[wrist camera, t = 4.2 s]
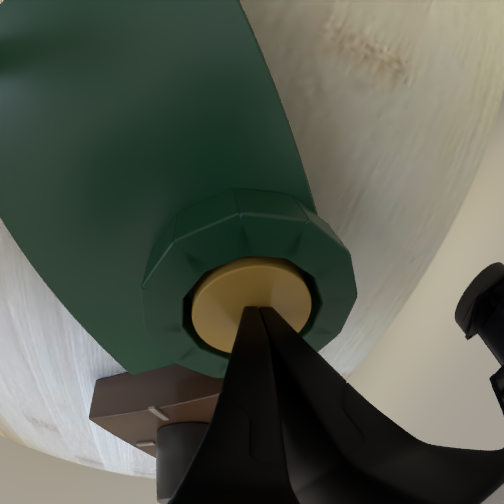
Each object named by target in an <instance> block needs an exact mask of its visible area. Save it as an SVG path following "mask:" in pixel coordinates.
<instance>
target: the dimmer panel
mask: <svg viewBox="0 0 504 504" xmlns="http://www.w3.org/2000/svg"><path fill="white" fill-rule="evenodd" d="M223 380H224V378H217V377H216V378H213V377H211V376H208V375H205V374H202V373H199V372H197V371H194V370H191V369H189V368H186V367H183V366H181V365H178V364H173V365H169V366H166V367H162V368H158V369H155V370H151V371H147V372H143V373H140V374H136V375H131V374H130V373H129V372H128V373H124V374H120V375H116V376H111V377H107V378H103V379H99V380H96V384H95V388H94V393H93V398H92V403H91V408H90V414H89V419H90V420H91V421H93V422H94V423H96V424H97V425H99V426H100V427H102V428H104V429H105V430H107V431H108V432H110V433H112V434H113V435H115V436H117V437H118V438H120V439H122V440H124V441H125V442H127V443H129V444H131V445H132V446H134V447H136V448H138V449H140V450H142V451H144V452H146V453H148V454H149V455H151V456H153V457H155V458H156V448H157V432H158V430H159V429H161V428H162V427H165V426H167V425H171V424H177V423H205V424H209V423H210V421H211V419H212V416H213V413H214V410H215V407H216V404H217V400H218V397H219V393H220V390H221V387H222V383H223Z"/></svg>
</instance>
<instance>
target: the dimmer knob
mask: <svg viewBox="0 0 504 504" xmlns="http://www.w3.org/2000/svg"><path fill="white" fill-rule="evenodd" d="M208 426H209V424H205V423H177V424H171V425H167V426H165V427H162V428H161V429H159V430H158V432H157V448H156V479H157V501H158V502H159V503H161V504H167V503H168V501H169V500H170V498H171V497H172V495H173V494H174V492H175V491H176V489H177V488H178V486H179V484H180V482H181V481H182V479H183V477H184V475H185V473H186V471H187V469H188V467H189V465H190V463H191V461H192V459H193V457H194V455H195V453H196V451H197V449H198V447H199V445H200V443H201V441H202V439H203V437H204V435H205V433H206V430H207V428H208Z"/></svg>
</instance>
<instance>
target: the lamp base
mask: <svg viewBox="0 0 504 504" xmlns="http://www.w3.org/2000/svg"><path fill="white" fill-rule="evenodd" d="M0 217H1V219H2V221H3V222H4V224H5V226H6V227H7V229H8V230H9V232H10V234H11V235H12V237H13V238H14V240H15V241H16V243H17V244H18V246H19V247H20V249H21V250H22V252H23V253H24V255H25V256H26V257H27V259H28V260H29V262H30V263H31V264H32V266H33V267H34V269H35V270H36V271H37V273H38V274H39V275H40V277H41V278H42V279H43V280H44V282H45V283H46V284H47V286H48V287H49V288H50V289H51V291H52V292H53V293H54V294H55V296H56V297H57V298H58V299H59V300H60V302H61V303H62V304H63V305H64V306H65V307H66V309H67V310H68V311H69V312H70V313H71V314H72V315H73V317H74V318H75V319H76V320H77V321H78V322H79V323H80V324H81V325H82V327H83V328H84V329H85V330H86V331H87V332H88V333H89V334H90V335H91V336H92V337H93V338H94V339H95V340H96V341H97V342H98V343H99V344H100V345H101V346H102V347H103V348H104V349H105V350H106V351H107V352H108V353H109V354H110V355H111V356H112V357H113V358H114V359H115V360H116V361H117V362H118V363H119V364H120V365H121V366H122V367H123V368H125V369H126V370H127V371H128V372H129V373H130V374H131V375H136V374H140V373H143V372H147V371H151V370H155V369H158V368H162V367H166V366H169V365H173V364H178V365H181V366H183V367H186V368H189V369H191V370H194V371H197V372H199V373H202V374H205V375H208V376H211V377H213V378H216V377H217V378H224V376H225V373H226V369H227V366H228V362H229V358H230V355H231V353H229V352H224V351H221V350H219V349H216V348H214V347H212V346H211V345H209V344H208V343H206V342H205V341H204V340H203V339H202V338H201V337H200V336H199V334H198V333H197V331H196V330H195V327H194V325H193V321H192V287H193V286H194V284H195V283H196V282H197V281H198V280H199V278H200V277H201V276H202V275H203V274H204V272H206V271H208V270H211V269H213V268H216V267H218V266H221V265H223V264H226V263H228V262H231V261H234V260H236V259H239V258H241V257H244V256H260V257H275V258H286V259H288V260H289V261H291V262H292V263H294V264H295V265H297V266H298V268H299V271H300V273H301V275H302V277H303V279H304V281H305V283H306V286H307V288H308V290H309V292H310V296H311V312H310V315H309V318H308V320H307V322H306V324H305V325H304V327H303V328H302V329H301V330H300V332H299V333H298V334H299V335H300V336H301V337H302V338H303V339H304V340H305V341H306V342H307V343H308V344H309V345H310V346H311V347H312V348H313V349H314V350H315V351H316V352H318V351H319V350H321V349H322V348H323V347H324V346H326V345H327V344H328V343H329V342H330V341H332V340H333V339H334V338H335V337H336V336H337V335H338V334H339V333H340V332H341V330H342V328H343V326H344V324H345V322H346V320H347V318H348V316H349V314H350V311H351V309H352V307H353V305H354V303H355V301H356V298H357V289H356V283H355V277H354V271H353V266H352V260H351V255H350V253H349V251H348V249H347V248H346V247H345V245H344V244H343V243H342V242H341V240H340V239H339V238H338V236H337V235H336V234H335V233H334V231H333V230H332V229H331V227H330V226H329V225H328V224H327V223H326V222H325V221H323V220H322V219H321V218H320V217H319V216H318V214H317V211H316V207H315V204H314V200H313V197H312V194H311V190H310V187H309V184H308V180H307V177H306V174H305V171H304V168H303V165H302V161H301V158H300V155H299V152H298V149H297V146H296V143H295V140H294V137H293V134H292V131H291V128H290V125H289V123H288V120H287V117H286V114H285V111H284V109H283V106H282V103H281V100H280V98H279V95H278V92H277V90H276V87H275V84H274V82H273V79H272V77H271V74H270V71H269V69H268V66H267V64H266V61H265V59H264V57H263V54H262V52H261V49H260V47H259V44H258V42H257V40H256V37H255V35H254V33H253V30H252V28H251V26H250V24H249V21H248V19H247V17H246V15H245V12H244V10H243V8H242V6H241V4H240V2H239V0H4V1H3V2H2V3H1V4H0Z"/></svg>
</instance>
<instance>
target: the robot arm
mask: <svg viewBox="0 0 504 504" xmlns="http://www.w3.org/2000/svg"><path fill="white" fill-rule="evenodd" d="M476 334H478V335H479V336H480V337H481V339H482V340H483V341H484V343H485V344H486V345H487V347H488V348H489V349H490V351H491V352H492V354H493V355H494V356H495V358H496V359H497V360H498V362H499V363H500V365H501V366H502V367H501V368H500V369H499V370H498V371H497V372H496V373H495V374H493V375H492V376H491V377H490V381H491V384H492V388H493V390H494V392H495V395H496V397H497V399H498V402H499V404H500V407H501V409H502V411H503V415H504V278H503V279H502V280H501V281H499V282H498V283H496V284H495V285H494V286H492V287H491V288H489V289H488V290H486V291H485V292H484V293H482V294H481V295H479V296H478V297H477V298H476V300H475V303H474V307H473V311H472V315H471V318H470V322H469V325H468V328H467V332H466V335H465V338H466V339H467V340H469V339H471V338H472V337H474V336H475V335H476ZM167 504H504V448H503V449H500V450H494V451H484V450H471V449H460V448H451V447H443V446H436V445H431V444H427V443H425V442H422V441H420V440H418V439H416V438H415V437H413V436H412V435H411V434H409V433H408V432H406V431H405V430H404V429H403V428H401V427H400V426H398V425H397V424H396V423H394V422H393V421H392V420H391V419H389V418H388V417H387V416H385V415H384V414H383V413H381V412H380V411H379V410H378V409H377V408H375V407H374V406H373V405H372V404H370V403H369V402H368V401H367V400H366V399H365V398H364V397H363V396H362V395H361V394H359V393H358V392H357V391H356V390H355V389H354V388H353V387H352V386H351V385H350V384H349V383H346V380H345V379H344V378H343V377H342V376H341V375H340V374H339V373H338V372H337V371H336V370H335V369H334V368H333V367H332V366H331V365H330V364H329V363H328V362H327V361H325V360H324V359H323V358H322V357H321V356H320V355H319V354H318V353H317V352H316V351H315V350H314V349H313V348H312V347H311V346H310V345H309V344H308V343H307V342H306V341H305V340H304V339H303V338H302V337H301V336H300V335H299V334H298V333H297V331H296V330H295V329H294V328H293V327H292V326H291V325H290V324H289V323H288V322H287V321H286V320H285V319H284V318H283V317H282V316H281V315H280V314H279V313H278V312H277V311H276V310H275V309H274V308H272V307H259V308H258V307H256V306H245V307H244V308H243V312H242V316H241V319H240V323H239V326H238V330H237V334H236V337H235V341H234V344H233V348H232V351H231V355H230V358H229V362H228V366H227V369H226V373H225V376H224V380H223V383H222V387H221V390H220V393H219V397H218V400H217V404H216V407H215V410H214V413H213V416H212V419H211V421H210V423H209V426H208V428H207V430H206V433H205V435H204V437H203V439H202V441H201V443H200V445H199V447H198V449H197V451H196V453H195V455H194V457H193V459H192V461H191V463H190V465H189V467H188V469H187V471H186V473H185V475H184V477H183V479H182V481H181V482H180V484H179V486H178V488H177V489H176V491H175V492H174V494H173V495H172V497H171V498H170V500H169V501H168V503H167Z"/></svg>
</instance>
